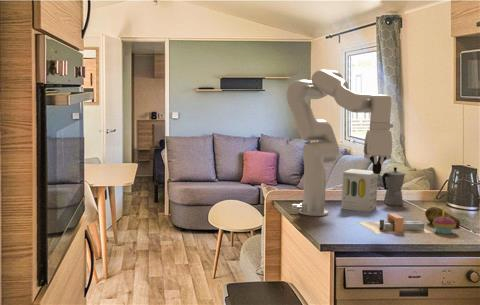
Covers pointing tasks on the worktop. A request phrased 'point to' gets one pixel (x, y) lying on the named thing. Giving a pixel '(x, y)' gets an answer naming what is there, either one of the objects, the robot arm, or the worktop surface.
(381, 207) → the worktop surface
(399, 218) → the lock collar
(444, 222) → the cupcake
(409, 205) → the worktop surface
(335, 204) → the worktop surface
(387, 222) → the jaw
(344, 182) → the supplement box
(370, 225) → the board
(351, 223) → the worktop surface
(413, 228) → the fixed jaw
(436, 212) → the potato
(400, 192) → the coffeepot
